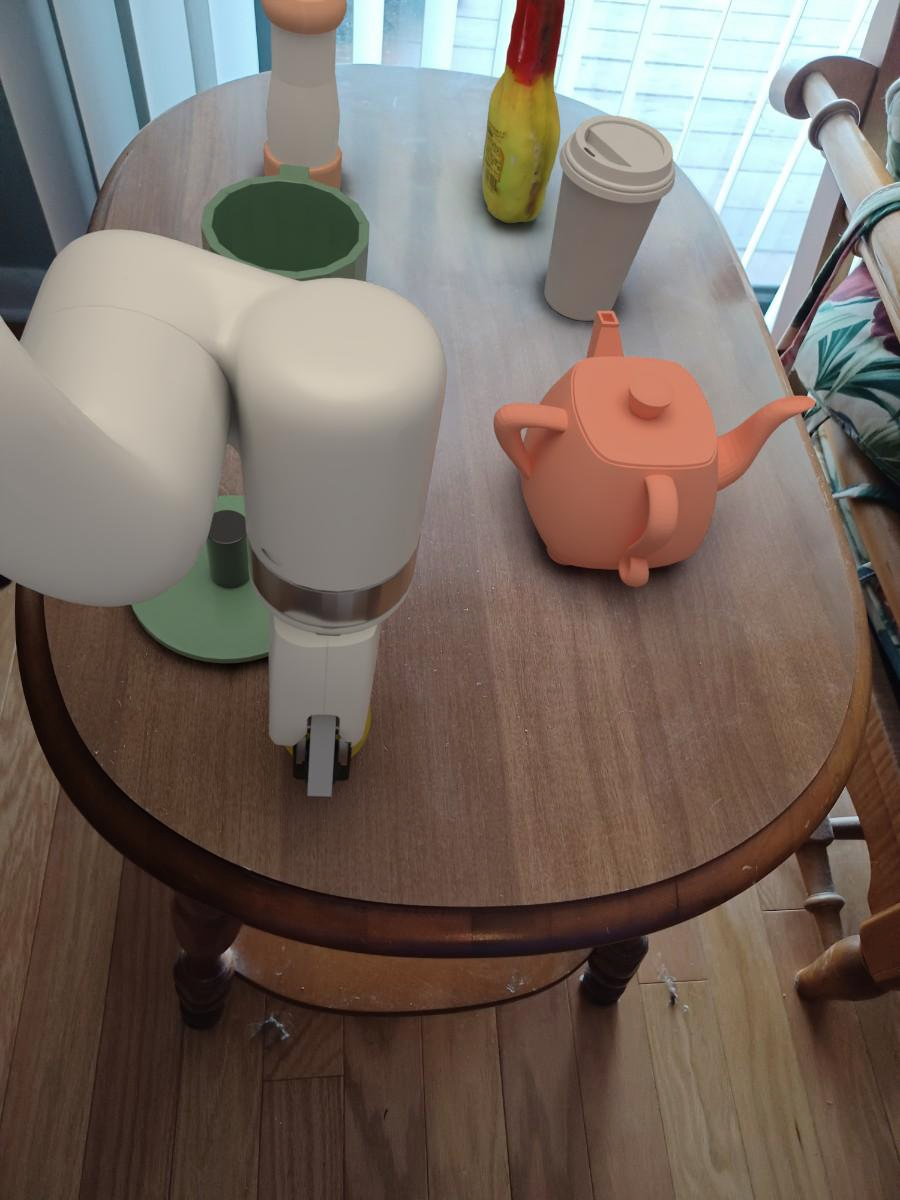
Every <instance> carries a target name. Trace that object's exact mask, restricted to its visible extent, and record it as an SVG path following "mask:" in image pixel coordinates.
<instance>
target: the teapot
mask: <svg viewBox="0 0 900 1200" xmlns="http://www.w3.org/2000/svg"><path fill="white" fill-rule="evenodd" d="M815 405H816V400H815V399H814V398H813V397H811V396H808V395H791V396H784V397H781V398H777V399H775V400H773V401H771V402H769V403H767V404H765V405H764V406H763V407H761V408H759V409H758V410H757V411H755V412H754V413H752V415H750V416H749V417H748V418H747V419H745V420H744V421H743V422H742V423H741V424H739V425H737V426H736V427H734V428H733V429H731V430H730V431H728V432H726V433H723V434H721V435H719V436H718V435H717V430H716V425H715V420H714V416H713V413H712V410H711V407H710V405H709V404H708V401H707V399H706V397H705V395H704V392H703V390H702V388H701V387H700V385H699V384H698V382H697V381H696V379H695V378H694V377H693V376H692V374H691V373H690V372H689V371H688V370H687V369H686V368H685V367H683V366H682V365H681V364H679V363H677V362H675V361H672V360H667V359H661V358H655V357H653V358H652V357H643V356H642V357H641V356H624V351H623V344H622V338H621V333H620V322H619V320H618V317H617V315H616V313H615V311H614V310H611V311H597V312H596V316H595V320H593V326H592V330H591V335H590V338H589V345H588V348H587V353H586V358H582V359H581V360H579V361H577V362H576V363H575V364H573V366H571V367H570V368H569V369H568V370H567V371H566V372H565V373H564V374H563V375H562V376H561V377H560V378H559V379H558V380H557V381H556V382H555V383H554V384H553V385H552V386H551V387H550V388H549V390H548V391H547V392H546V393H545V395H544V396H543V398H542V399H541V400H540V402H539V403H532V402H511V403H507V404H505V405H502V406H501V407H500V408H498V409H497V410H496V412H495V414H494V415H493V430H494V434H495V438H496V440H497V442H498V444H499V446H500V448H501V450H502V451H503V452H504V453H505V455H506V456H507V458H508V459H509V460H510V462H512V464H513V465H514V466H515V467H516V469H517V470H518V471H519V474H520V475H519V476H520V484H521V490H522V494H523V499H524V501H525V504H526V507H527V510H528V513H529V514H530V518H531V519H532V522H533V524H534V526H535V528H536V530H537V532H538V534H539V536H540V538H541V540H542V541H543V543H544V544H545V546H546V552H547V554H548V556H549V557H550V559H551V560H552V561H554V562H555V563H557V564H559V565H563V566H574V567H580V568H585V569H595V570H617V571H618V574H619V577H620V579H621V581H622V582H623V583H624V584H625V585H627V586H630V587H634V588H639V587H642V586H645V585H646V584H647V583H648V581H649V575H650V571H649V569H653V568H660V567H661V568H662V567H666V566H670V565H673V564H675V563H678V562H681V561H684V560H686V559H688V558H689V557H690V556H692V555H693V554H694V553H695V552H697V551H698V549H700V548H701V545H702V544H703V542H704V540H705V538H706V535H707V533H708V530H709V529H710V525H711V522H712V520H713V516H714V512H715V509H716V508H715V507H716V502H717V496H718V495H717V494H718V492H720V491H722V490H724V489H726V488H728V487H729V486H731V485H732V484H734V483H736V481H738V480H739V479H740V478H741V477H742V476H743V475H744V474H745V473H746V472H747V471H748V470H749V469H750V467H751V466H752V464H753V463H754V461H755V460H756V458H757V456H758V455H759V453H760V452H761V450H762V448H763V447H764V445H765V444H766V442H767V441H768V440H769V438H770V437H771V436H772V434H773V433H774V432H775V431H776V430H777V429H778V428H779V427H780V426H781V425H782V424H784V423H786V422H787V421H788V420H789V419H791V418H794V417H796V416H798V415H800V414H803V413H804V412H807V411H808V410H810V409H812V408H813V407H815ZM523 429H524V430H525V429H526V432H525V434H524V437H523V438H522V433H521V432H522V430H523Z"/></svg>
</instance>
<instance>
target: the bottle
mask: <svg viewBox="0 0 900 1200" xmlns="http://www.w3.org/2000/svg"><path fill="white" fill-rule="evenodd" d="M565 6H566V0H516V5H515V12H514V15H513V19H512V22H511V27H510V29H511V30H510V40H509V44H508V46H507V50H506V59H505V66H504V72H503V73H502V74H501V76H500V77H499V79H498V80H497V82H496V84H495V86H494V87H493V89H492V92H491V95H490V98H489V102H488V103H489V104H488V111H487V120H486V121H487V123H486V130H485V141H484V146H483V153H482V154H483V155H482V165H481V166H482V167H481V178H480V179H481V180H480V182H481V187H482V193H483V198H484V199H483V200H484V201H485V204H486V206H487V211H488V212H489V213H490V215H491V216H492V217H493V218H495V219H496V220H497V219H498V221H501V222H503V223H506V224H515V223H522V222H523V223H524V222H532V221H533V220H535V219H536V218H537V217H538V216H539V215H540V213H541V212H542V209H543V206H544V203H545V200H546V192H547V188H548V184H549V183H550V179H551V175H552V172H553V169H554V167H555V163H556V159H557V155H558V150H559V146H560V145H559V144H560V139H561V120H560V113H559V107H558V101H557V96H556V92H555V73H556V68H557V61H558V56H559V55H558V54H559V49H560V44H561V39H562V30H563V22H564V15H565Z"/></svg>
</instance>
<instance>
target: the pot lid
mask: <svg viewBox="0 0 900 1200" xmlns="http://www.w3.org/2000/svg"><path fill="white" fill-rule="evenodd" d="M245 522H246V520H245V506H244V494H243V495H242V494H226V495H225V494H223V495H217V500H216V505H215V510H214V514H213V518H212V522H211V526H210V530H209V534H208V537H207V540H206V543H205V545H204V547H203V549H202V552H201V554H200V556H199V558H198V560H197V561H196V563H195V565H194V566H193V567H192V568H191V570H190V571H189V572H188V573H187V574H186V575H185V577H184V578H183V579H182V580H181V581H180V582H179V583H178V584H176V585H175V586H173V587H172V588H170V589H169V590H168V591H166V592H165V593H163V594H161V595H159V596H157V597H155V598H152V599H149V600H147V601H144V602H141V603H137V604H131V605H130V607H131V609H132V611H133V615H134V616H135V617H136V619H137V621H138V623H139V625H140V626H142V627H143V629H144V631H145V632H147V634H148V635H150V637H152V638H153V639H154V640H155V641H156V642H158V643H159V644H160V645H162V646H164V647H165V648H166V649H168V650H171V651H172V652H174V653H176V654H178V655H180V656H182V657H186V658H189V659H192V660H197V661H200V662H201V661H202V662H206V663H215V664H238V663H246V662H252V661H256V660H261V659H264V658H267V657H269V610H268V609H267V608H266V607H265V606H264V605H263V603H262V602H261V601H260V599H259V598H258V596H257V595H256V593H255V591H254V589H253V586H252V584H251V580H250V576H249V565H248V553H247V539H246V525H245Z"/></svg>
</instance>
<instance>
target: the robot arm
mask: <svg viewBox="0 0 900 1200" xmlns="http://www.w3.org/2000/svg"><path fill="white" fill-rule="evenodd" d="M38 289H39V290H38V291H37V294H36V296H35V300H34V302H33V304H32V308H31V311H30V313H29V316H28V318H27V321H26V323H25V325H24V329H23V331H22V334H21V337H20V340H18V339H17V338H16V335H15V334H14V333H13V332H12V330H11V329H10V327H8V325H7V323H6V322H5V321H4V319H3V317H2V316H1V314H0V575H1V576H3V577H5V578H6V579H8V580H10V581H12V582H14V583H16V584H18V585H21V586H23V587H25V588H27V589H30V590H32V591H35V592H37V593H39V594H42V595H43V596H47V597H51V598H53V599H57V600H61V601H64V602H68V603H70V604H77V605H82V606H83V605H84V606H89V607H96V608H97V607H99V608H104V607H105V608H115V607H117V608H118V607H124V606H131V604H137V603H141V602H144V601H147V600H149V599H152V598H155V597H157V596H159V595H161V594H163V593H165V592H166V591H168V590H169V589H170V588H172V587H173V586H175V585H176V584H178V583H179V582H180V581H181V580H182V579H183V578H184V577H185V575H186V574H187V573H188V572H189V571H190V570H191V568H192V567H193V566H194V565H195V563H196V561H197V560H198V558H199V556H200V554H201V552H202V549H203V547H204V545H205V543H206V540H207V537H208V534H209V530H210V526H211V522H212V518H213V514H214V510H215V505H216V500H217V496H219V495H218V494H219V491H220V485H221V480H222V475H223V470H224V469H223V468H224V464H225V457H226V452H227V445H229V446H230V447H232V448H233V449H234V450H235V452H236V453H237V455H238V457H239V459H240V467H241V474H242V475H241V477H242V490H243V491H242V493H243V496H244V506H245V520H246V522H245V525H246V539H247V553H248V565H249V576H250V580H251V584H252V586H253V589H254V591H255V593H256V595H257V596H258V598H259V599H260V601H261V602H262V603H263V605H264V606H265V607H266V608H267V609H268V610H269V656H268V700H269V701H268V737H269V738H270V739H271V741H272V743H274V744H275V745H277V746H284V747H285V746H293V756H292V778H293V779H294V780H299V781H300V780H301V781H302V780H303V781H306V784H307V794H306V795H307V796H306V797H307V799H325V800H327V799H329V800H331V799H332V795H333V785H334V784H336V783H335V782H345V781H348V780H349V778H350V769H351V761H352V758H351V753H352V747H353V746H355V745H356V744H357V743H358V742H359V741H360V740H361V739H362V737H363V734H364V730H365V725H366V720H367V715H368V709H369V704H370V703H371V697H372V692H373V685H374V678H375V674H376V673H375V672H376V667H377V659H378V655H379V647H380V646H379V645H380V638H381V631H382V624H383V622H384V621H385V620H387V619H388V618H389V617H390V616H391V615H393V614H394V613H395V612H396V611H397V610H398V609H399V608H400V607H401V605H403V604H404V602H405V600H406V599H407V597H408V595H409V593H410V590H411V588H412V584H413V580H414V574H415V569H416V564H417V556H418V551H419V546H420V542H421V536H422V528H423V522H424V517H425V513H426V512H425V511H426V506H427V500H428V495H429V488H430V483H431V477H432V471H433V465H434V461H435V460H434V459H435V455H436V449H437V443H438V438H439V432H440V426H441V420H442V414H443V408H444V403H445V397H446V388H447V379H448V364H447V358H446V353H445V349H444V345H443V342H442V339H441V337H440V336H439V333H438V331H437V330H436V328H435V326H434V325H433V323H432V322H431V321H430V320H429V318H428V317H427V316H426V314H424V312H423V311H422V310H421V309H420V308H419V307H418V306H416V305H415V304H414V303H413V302H412V301H411V300H409V299H407V298H406V297H404V296H403V295H401V294H399V293H397V292H396V291H394V290H391V289H389V288H387V287H385V286H381V285H378V284H376V283H372V282H369V281H366V282H365V281H360V280H355V279H346V278H322V279H315V280H308V281H298V280H294V279H291V278H288V277H284V276H281V275H278V274H274V273H271V272H268V271H264V270H261V269H258V268H255V267H253V266H250V265H247V264H244V263H241V262H238V261H235V260H232V259H229V258H227V257H224V256H221V255H218V254H215V253H212V252H210V251H207V250H204V249H203V248H201V247H198V246H195V245H192V244H189V243H186V242H183V241H180V240H177V239H174V238H170V237H167V236H163V235H160V234H157V233H151V232H145V231H139V230H136V229H135V230H133V229H120V228H119V229H117V228H116V229H111V228H110V229H102V230H98V231H97V230H96V231H93V232H89V233H87V234H84V235H82V236H79V237H78V238H76V239H74V240H72V241H71V242H69V243H68V244H67V245H66V246H64V248H63V249H62V250H60V251H59V253H57V255H56V256H55V257H54V259H53V260H52V262H51V264H50V266H49V267H48V269H47V271H46V273H45V274H44V277H43V279H42V282H41V284H40V287H39V288H38ZM370 705H371V704H370ZM307 733H311V735H310V738H308V740H307ZM335 734H339V741H338V739H335ZM349 743H351V744H349Z"/></svg>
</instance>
